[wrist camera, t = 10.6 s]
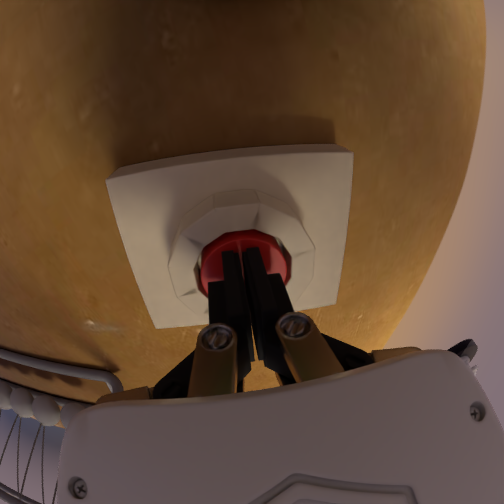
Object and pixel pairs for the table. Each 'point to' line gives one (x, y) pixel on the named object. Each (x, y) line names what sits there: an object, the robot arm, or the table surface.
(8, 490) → the newton's cradle
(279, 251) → the button
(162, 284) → the button block
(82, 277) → the table surface
